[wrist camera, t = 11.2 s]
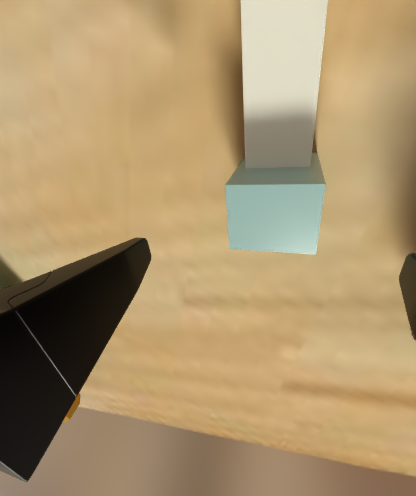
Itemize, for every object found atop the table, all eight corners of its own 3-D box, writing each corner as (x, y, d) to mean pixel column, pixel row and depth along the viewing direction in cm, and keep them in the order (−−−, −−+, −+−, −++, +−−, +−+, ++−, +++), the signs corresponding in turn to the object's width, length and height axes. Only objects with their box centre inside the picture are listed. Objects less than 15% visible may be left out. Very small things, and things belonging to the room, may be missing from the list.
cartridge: (310, 206, 17) (315, 254, 13) (247, 205, 19) (229, 248, 14) (373, -344, 8) (492, -1007, 3) (234, -268, 9) (165, -649, 4)
